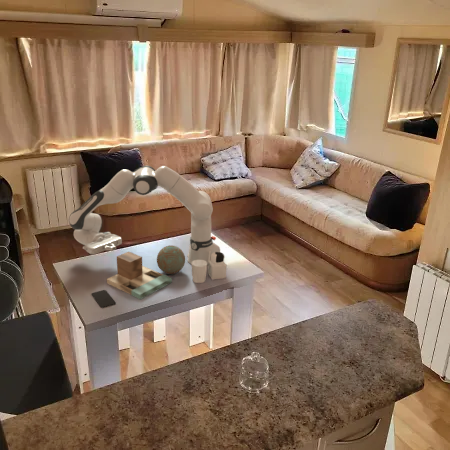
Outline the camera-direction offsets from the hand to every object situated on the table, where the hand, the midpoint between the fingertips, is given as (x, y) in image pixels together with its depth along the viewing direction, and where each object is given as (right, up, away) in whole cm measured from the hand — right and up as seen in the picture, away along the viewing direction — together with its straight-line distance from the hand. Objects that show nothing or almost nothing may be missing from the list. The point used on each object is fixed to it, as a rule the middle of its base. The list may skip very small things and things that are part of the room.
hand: (113, 248), depth 242 cm
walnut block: (+9, -13, -2) cm, 16 cm away
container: (+53, -15, +6) cm, 56 cm away
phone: (0, -23, -20) cm, 31 cm away
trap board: (+14, -17, -5) cm, 23 cm away
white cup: (+44, -17, 0) cm, 47 cm away
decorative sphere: (+29, -13, +7) cm, 33 cm away
